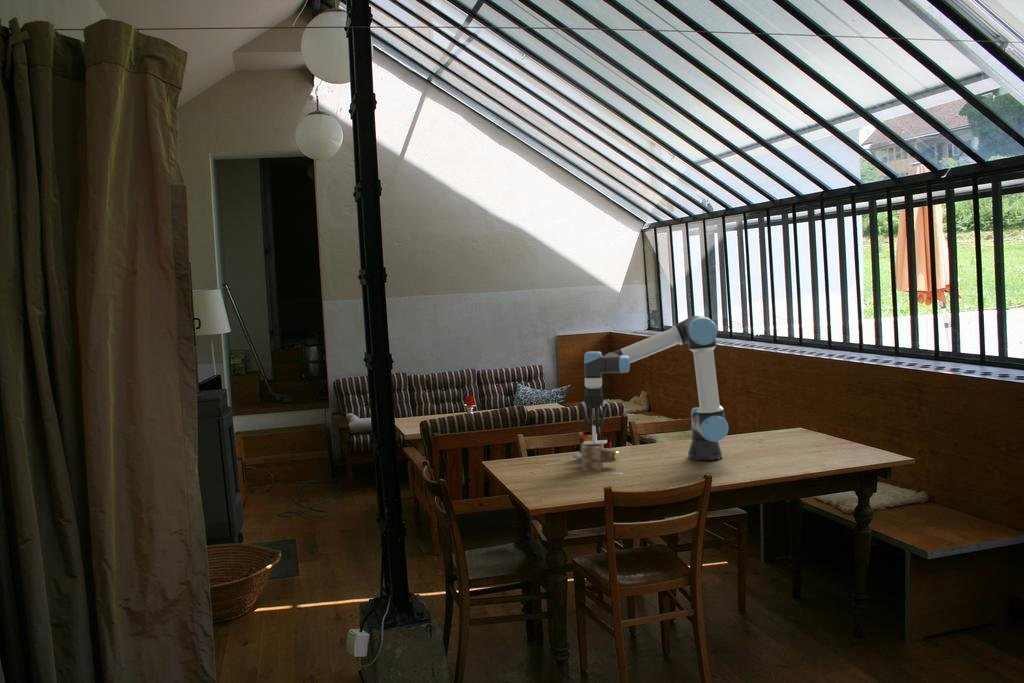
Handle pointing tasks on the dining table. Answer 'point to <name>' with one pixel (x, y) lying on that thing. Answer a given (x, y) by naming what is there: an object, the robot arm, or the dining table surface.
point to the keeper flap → (595, 442)
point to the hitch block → (595, 456)
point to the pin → (615, 456)
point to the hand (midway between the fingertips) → (594, 441)
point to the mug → (590, 438)
